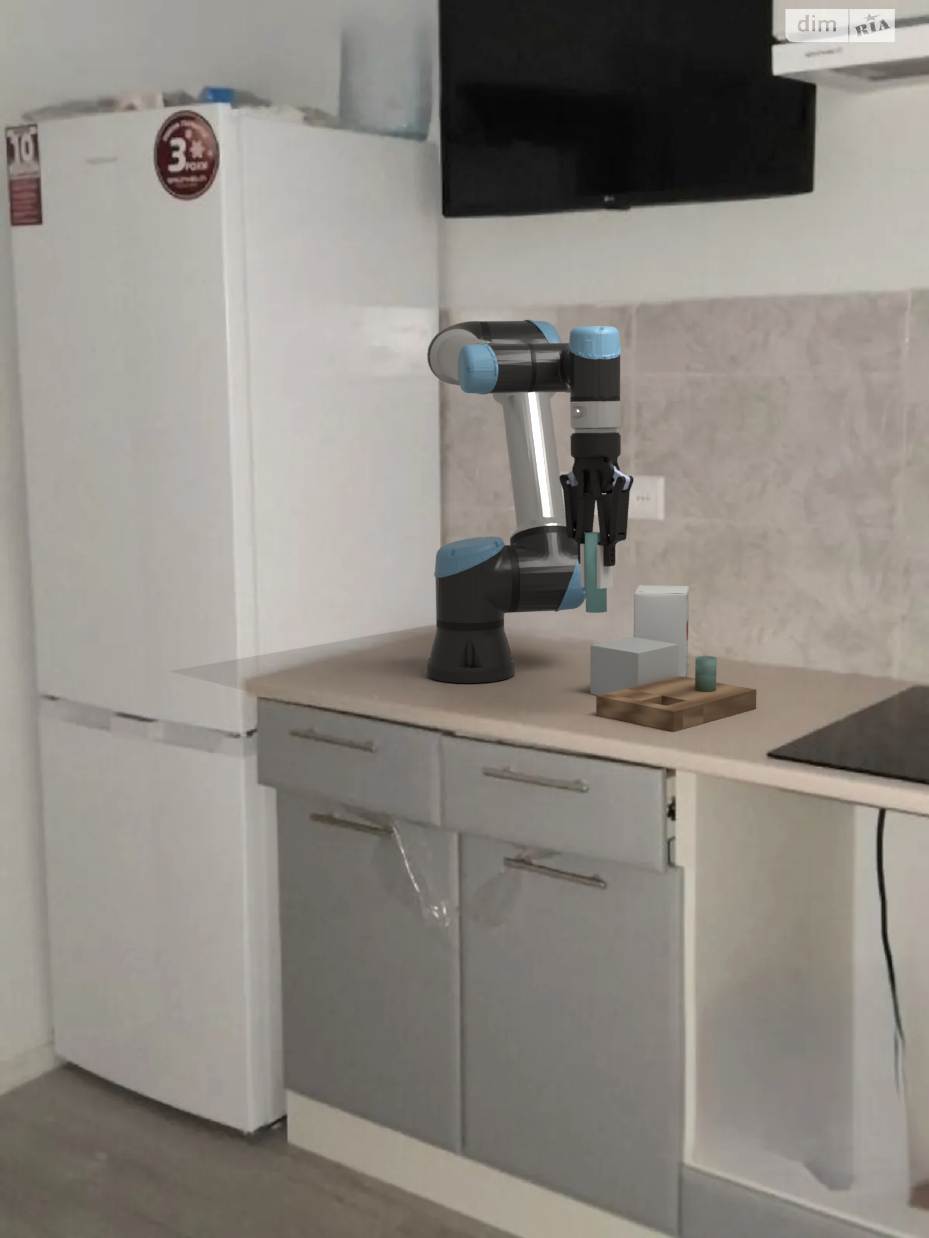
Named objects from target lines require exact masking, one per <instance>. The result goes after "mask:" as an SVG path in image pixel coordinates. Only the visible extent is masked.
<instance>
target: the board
mask: <svg viewBox="0 0 929 1238" xmlns="http://www.w3.org/2000/svg"><path fill="white" fill-rule="evenodd" d="M694 661H695V662H694V663H695V666H694V668H695V669H694V670H695V671H694V673H695V674H694V677H689V676H686V677H683V676H677V677H672V678H668V679H664V680H660V681H656V682H652V683H648V684H643V685H639V686H635V687H631V688H627V689H623V690H619V691H615V692H610V693H606V694H602V695H595V696H596V697H595V698H596V700H595V702H596V703H595V704H596V707H595V711H596V712H595V713H596V714H595V715H596V716H599V717H603V718H608V719H612V720H617V721H623V722H627V723H631V724H636V725H640V726H644V727H645V726H646V727H650V728H655V729H658V730H659V729H661V730H664V731H669V732H677V731H681V730H684V729H687V728H689V729H690V728H692V727H695V726H700V725H702V724H706V723H710V722H713V721H716V720H717V721H718V720H721V719H724V718H727V717H732V716H734V715H738V714H741V713H745V712H749V711H752V710H756V709H757V689H755V688H751V687H750V688H749V687H745V686H739V685H738V686H737V685H733V684H727V683H722V682H718V681H717V664H718V663H717V657H716V656H710V655H701V656H700V655H699V656H696V657H695V660H694Z"/></svg>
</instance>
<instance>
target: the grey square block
mask: <svg viewBox="0 0 929 1238" xmlns="http://www.w3.org/2000/svg"><path fill="white" fill-rule="evenodd" d="M589 652H590V655H589V656H590V659H589V660H590V666H589V667H590V683H589V684H590V689H589V690H590V693H589V694H590V695H594V696H598V695H602V694H606V693H610V692H615V691H619V690H623V689H627V688H631V687H635V686H639V685H643V684H648V683H652V682H656V681H660V680H664V679H668V678H672V677H677V676H678V662H679V644H673V643H667V642H660V641H654V640H648V639H642V638H635V637H634V636H627V637H624V638H618V639H614V640H609V641H604V642H599V643H595V644H591V645H590V651H589Z"/></svg>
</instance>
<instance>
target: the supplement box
mask: <svg viewBox="0 0 929 1238" xmlns="http://www.w3.org/2000/svg"><path fill="white" fill-rule="evenodd" d="M633 598H634V599H633V637H635V638H642V639H648V640H654V641H660V642H667V643H673V644H679V662H678V676H683V677H687V675H688V670H689V626H690V625H689V618H690V617H689V616H690V615H689V613H690V611H689V610H690V607H689V606H690V586H689V585H657V584H655V585H654V584H653V585H651V584H647V585H646V584H639V585H638V586H637V588H635V592H634V593H633Z"/></svg>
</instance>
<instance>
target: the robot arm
mask: <svg viewBox="0 0 929 1238" xmlns="http://www.w3.org/2000/svg"><path fill="white" fill-rule="evenodd" d="M561 339H562V338H561V336H560V334H559V331H558V330H557V329H556V327H555V326H554V325H552V324H551V323H550V322H548V321H545V320H543V321H542V320H532V319H524V320H507V321H505V320H489V321H488V320H487V321H486V320H485V321H484V320H483V321H480V320H473V321H472V320H471V321H463V322H459V323H455V324H453V325H449V326H448V327H445V328H444V329H442V330H440V331H439V332H438V333H436V334H435V335H434V337H433V338H432V339H431V341H430V343H429V345H428V348H427V353H426V354H427V355H426V356H427V357H426V359H427V363H428V367H429V369H430V371H431V372H432V374H433V375H434V376H435V377H436V378H438V379H439V380H440V381H441V382H444V383H446V384H449V385H455V386H459V387H460V389H461V391H462V392H464V393H466V394H477V395H487V394H490V395H491V394H492V398H493V400H494V401H495V402H496V403H498V404H499V405H501V406H502V411H503V421H504V429H505V437H506V444H507V445H506V447H507V453H508V454H507V455H508V463H509V471H510V480H511V487H512V496H513V504H514V512H515V514H514V515H515V521H516V529H515V531H514V532H513V533H512V534H511V535H510V537H509V544H507V545H506V544H505V542H504V539H503V537H502V538H501V537H500V536H485V537H483V536H481V537H480V536H478V537H471V538H466V539H460V540H456V541H452V542H449V543H447V544H444V545H442V546H441V547H439V549H438V550H437V551H436V554H435V566H434V572H433V575H434V577H435V615H436V619H435V621H436V625H435V626H436V628H435V629H436V631H435V636H434V639H433V643H432V646H431V652H430V656H429V657H428V658H427V662H426V674H427V675H426V676H427V677H428V678H430V679H431V680H435V681H439V682H444V683H457V684H458V683H459V684H480V683H482V684H483V683H492V682H498V681H499V682H500V681H503V680H506V679H510V678H512V677H514V676H515V673H516V671H515V669H516V668H515V667H516V666H515V665H516V664H515V659H514V657H513V656H512V652H511V648H510V645H509V642H508V637H507V634H506V630H505V614H506V613H507V614H511V613H533V612H534V613H535V612H536V613H537V612H552V611H553V612H554V613H555V612H557V613H558V612H559V611H560V612H561V611H565V610H575V609H578V608H579V607H581V606H582V605H583V603H584V602H585V601H586V581H585V533H586V532H594V522H595V511H596V510H595V509H597V519H598V520H597V521H598V528H599V532H600V539H601V542H597V543H598V545H597V588H599V589H602V588H607V589H608V588H614V580H613V579H614V575H613V574H614V566H616V545H617V544H618V543H619V542H622V541H625V540H627V534H628V520H629V507H630V505H629V504H630V491H631V489H632V486H633V483H634V476H632V475H625V474H624V473H623V472H621V470H620V466H619V463H618V462H619V461H618V459H619V457H620V456H621V453H622V446H621V445H622V441H621V440H622V439H621V438H622V437H621V434H620V432H618V429H620V428H621V426H622V425H621V423H622V422H621V421H622V420H621V415H622V414H621V354H622V348H621V337H620V332H619V330H618V329H617V327H615V326H609V325H608V326H607V325H598V326H597V325H596V326H595V325H593V326H592V325H591V326H589V325H588V326H578V327H576V326H575V327H574V328H572V329H571V330H570V332H569V339H568V340H569V341H568V342H562V340H561ZM556 393H568V394H570V395H569V396H570V397H569V404H570V428H571V430H574V432H573V433H571V435H570V456H571V457H572V458H573V459H574V462H573V465H572V468H571V471H569V472H568V473H566V474H565V473H564V474H561V473H560V467H559V466H560V464H559V458H558V452H557V451H558V450H557V442H556V436H555V435H556V434H555V428H554V419H553V413H552V412H553V411H552V405H551V399H552V398H553V397H554V395H556Z"/></svg>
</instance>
